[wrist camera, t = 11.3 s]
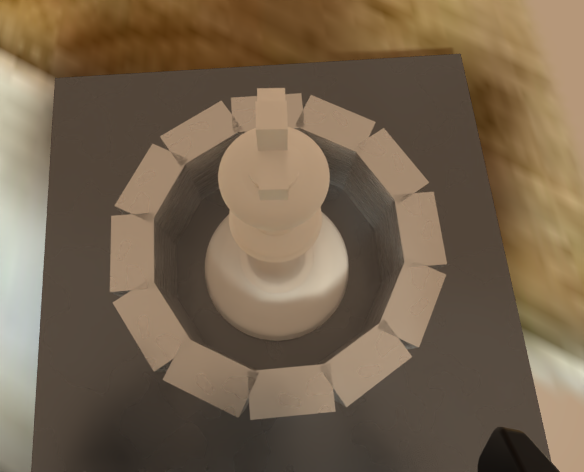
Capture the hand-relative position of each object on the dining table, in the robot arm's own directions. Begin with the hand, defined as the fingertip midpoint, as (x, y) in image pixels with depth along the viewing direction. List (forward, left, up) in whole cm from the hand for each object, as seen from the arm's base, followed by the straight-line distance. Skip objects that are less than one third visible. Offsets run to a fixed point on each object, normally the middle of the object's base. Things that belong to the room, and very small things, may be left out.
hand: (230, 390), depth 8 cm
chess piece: (+4, -1, -7) cm, 8 cm away
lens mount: (+4, -1, -8) cm, 9 cm away
